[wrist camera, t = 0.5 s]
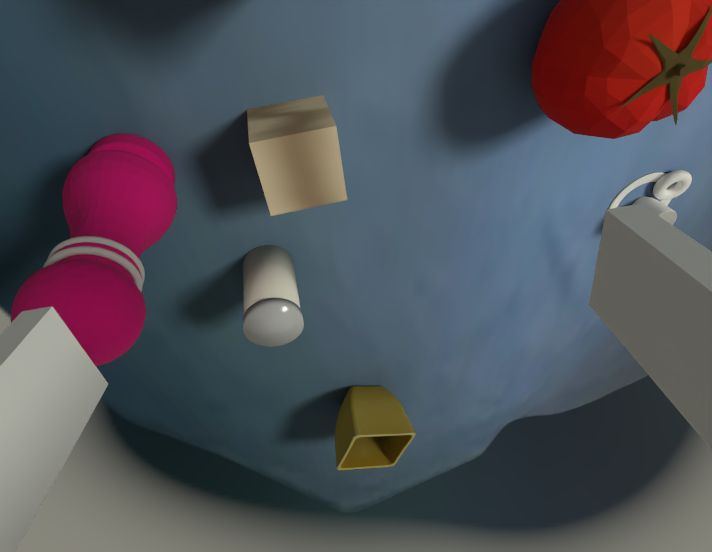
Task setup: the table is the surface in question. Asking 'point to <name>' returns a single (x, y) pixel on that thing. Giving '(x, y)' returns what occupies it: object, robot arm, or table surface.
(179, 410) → the table surface
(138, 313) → the pepper mill
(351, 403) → the flower pot
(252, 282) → the salt shaker
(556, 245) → the table surface
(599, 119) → the tomato
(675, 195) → the teacup and saucer
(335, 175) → the light oak block
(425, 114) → the table surface
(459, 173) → the table surface
